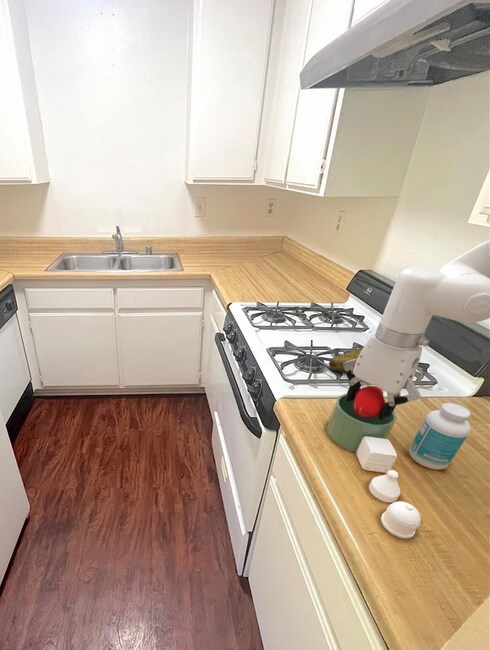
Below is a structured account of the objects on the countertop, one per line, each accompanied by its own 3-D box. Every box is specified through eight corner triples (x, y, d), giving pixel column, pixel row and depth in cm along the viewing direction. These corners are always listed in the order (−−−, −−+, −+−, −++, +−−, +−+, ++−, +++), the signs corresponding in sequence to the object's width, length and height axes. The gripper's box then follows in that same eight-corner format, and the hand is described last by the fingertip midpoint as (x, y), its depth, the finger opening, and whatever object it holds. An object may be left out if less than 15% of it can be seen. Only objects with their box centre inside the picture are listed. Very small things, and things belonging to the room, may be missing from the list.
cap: (381, 426, 73) (392, 403, 70) (350, 418, 75) (359, 396, 72) (379, 406, 80) (389, 384, 76) (351, 399, 82) (359, 377, 78)
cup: (392, 440, 80) (406, 413, 76) (363, 461, 75) (377, 433, 70) (345, 413, 88) (355, 387, 84) (316, 430, 83) (325, 403, 78)
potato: (328, 360, 112) (335, 337, 108) (372, 369, 108) (381, 346, 103) (326, 372, 106) (334, 348, 101) (373, 382, 101) (383, 358, 97)
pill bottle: (455, 469, 73) (490, 419, 66) (425, 473, 72) (456, 423, 65) (427, 445, 79) (456, 397, 72) (399, 448, 78) (425, 400, 71)
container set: (354, 454, 76) (363, 435, 73) (379, 457, 76) (389, 438, 73) (386, 535, 60) (399, 515, 57) (419, 540, 59) (434, 521, 56)
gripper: (457, 348, 63) (415, 423, 73) (366, 316, 75) (341, 385, 85) (438, 358, 59) (397, 436, 69) (346, 323, 71) (322, 394, 81)
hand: (366, 407), depth 77 cm, fingers closed on cap, 6 cm apart
